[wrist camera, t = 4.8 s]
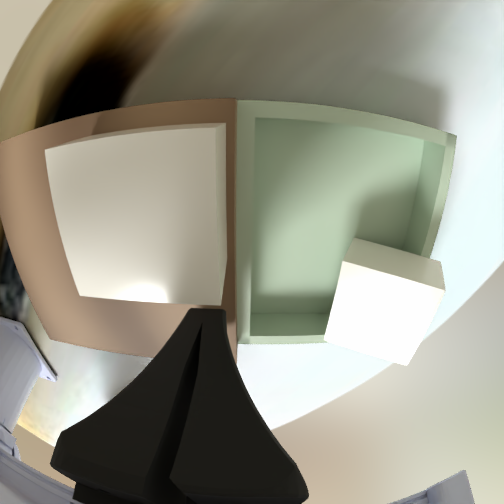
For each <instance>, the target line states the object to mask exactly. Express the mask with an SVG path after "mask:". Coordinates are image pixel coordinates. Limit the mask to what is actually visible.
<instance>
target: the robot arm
mask: <svg viewBox="0 0 504 504" xmlns="http://www.w3.org/2000/svg"><path fill="white" fill-rule="evenodd" d="M38 377H42V378H44V379H47V380H50V381H53V382H56V381H57V378H56V376H55V375H54V373H53V372H52V370H51V369H50V367H49V366H48V365H47V363H46V362H45V360H44V358H43V357H42V355H41V354H40V352H39V351H38V349H37V347H36V346H35V344H34V343H33V341H32V339H31V337H30V336H29V334H28V332H27V330H26V329H25V327H24V325H23V324H22V323H20V322H17V321H13V320H10V319H6V318H3V317H0V504H301V503H303V502H304V501H305V500H306V499H308V497H309V493H308V489H307V486H306V483H305V481H304V479H303V477H302V475H301V473H300V471H299V469H298V467H297V465H296V463H295V462H294V461H293V460H292V458H291V457H290V456H289V455H288V454H287V452H286V451H285V450H284V448H283V447H282V446H281V445H280V443H279V442H278V441H277V439H276V438H275V437H274V435H273V434H272V432H271V431H270V429H269V428H268V426H267V425H266V423H265V421H264V420H263V418H262V417H261V415H260V413H259V412H258V410H257V408H256V407H255V405H254V403H253V401H252V399H251V397H250V395H249V393H248V391H247V389H246V387H245V385H244V383H243V380H242V378H241V376H240V373H239V371H238V368H237V365H236V363H235V360H234V357H233V353H232V350H231V346H230V343H229V339H228V334H227V318H226V311H225V310H224V309H207V308H190V309H189V310H188V311H187V313H186V315H185V316H184V318H183V319H182V321H181V322H180V324H179V325H178V327H177V328H176V330H175V331H174V333H173V334H172V335H171V337H170V338H169V339H168V341H167V342H166V343H165V345H164V346H163V347H162V349H161V350H160V351H159V352H158V354H157V355H156V356H155V357H154V358H153V360H152V361H151V362H150V363H149V364H148V365H147V367H146V368H145V369H144V370H143V371H142V372H141V373H140V374H139V375H138V376H137V377H136V378H135V379H134V380H133V381H132V382H131V383H130V384H129V385H128V386H127V387H125V388H124V389H123V390H122V391H121V392H120V393H119V394H118V395H116V396H115V397H114V398H113V399H112V400H110V401H109V402H108V403H106V404H105V405H104V406H102V407H101V408H99V409H98V410H97V411H95V412H94V413H92V414H91V415H90V416H88V417H86V418H85V419H83V420H82V421H80V422H78V423H76V424H75V425H73V426H71V427H69V428H68V429H66V430H64V431H62V432H61V434H60V436H59V438H58V440H57V443H56V446H55V449H54V452H53V455H52V459H51V462H50V465H51V467H53V468H54V469H55V470H57V471H58V472H60V473H61V474H63V475H65V476H66V477H68V478H70V479H72V480H73V481H75V482H76V485H75V489H73V488H71V487H68V486H67V485H64V484H62V483H60V482H58V481H56V480H54V479H52V478H50V477H48V476H46V475H44V474H42V473H40V472H39V471H37V470H35V469H33V468H32V467H30V466H28V465H26V464H25V463H23V462H22V461H21V458H20V454H19V450H18V447H17V445H16V444H15V442H16V438H15V437H14V436H12V435H11V434H12V432H13V430H14V428H15V425H16V423H17V421H18V418H19V416H20V414H21V411H22V409H23V407H24V405H25V403H26V401H27V399H28V397H29V394H30V392H31V390H32V388H33V386H34V384H35V383H36V381H37V379H38ZM389 504H475V503H474V499H473V495H472V492H471V488H470V484H469V481H468V477H467V474H466V471H465V470H462V471H460V472H459V473H457V474H455V475H453V476H451V477H449V478H447V479H445V480H443V481H441V482H439V483H437V484H435V485H433V486H431V487H429V488H427V489H426V490H424V491H421V492H419V493H417V494H414V495H411V496H409V497H406V498H403V499H401V500H398V501H395V502H392V503H389Z"/></svg>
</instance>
